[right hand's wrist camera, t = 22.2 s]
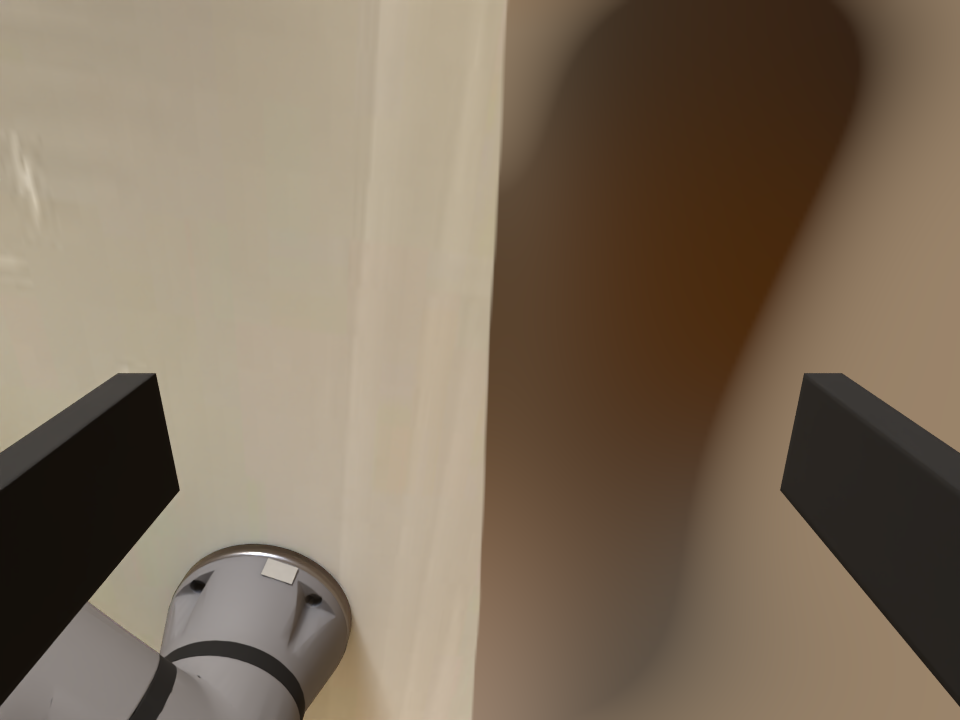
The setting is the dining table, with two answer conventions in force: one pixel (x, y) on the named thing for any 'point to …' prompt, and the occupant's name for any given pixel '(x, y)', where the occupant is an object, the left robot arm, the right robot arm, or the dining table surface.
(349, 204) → the dining table surface
